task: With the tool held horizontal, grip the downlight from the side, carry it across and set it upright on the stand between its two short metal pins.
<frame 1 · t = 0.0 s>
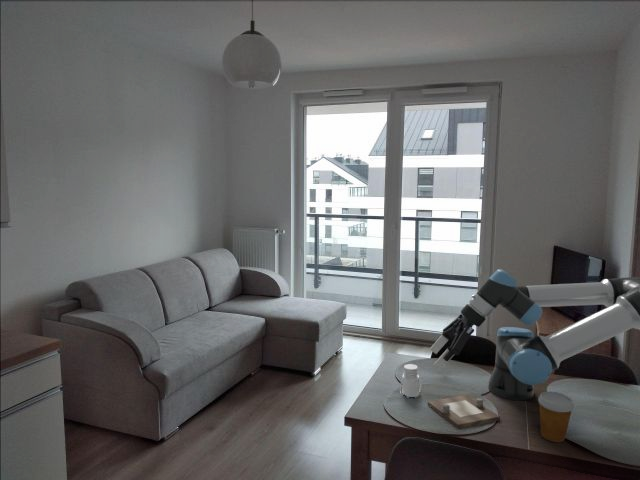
hand: (435, 358, 159), 15 cm above the table, tool tilted 35°, fingers open, 13 cm apart
disposable coffee cup: (552, 437, 141), on the table
downlight: (410, 394, 167), on the table
pin stand: (462, 412, 155), on the table
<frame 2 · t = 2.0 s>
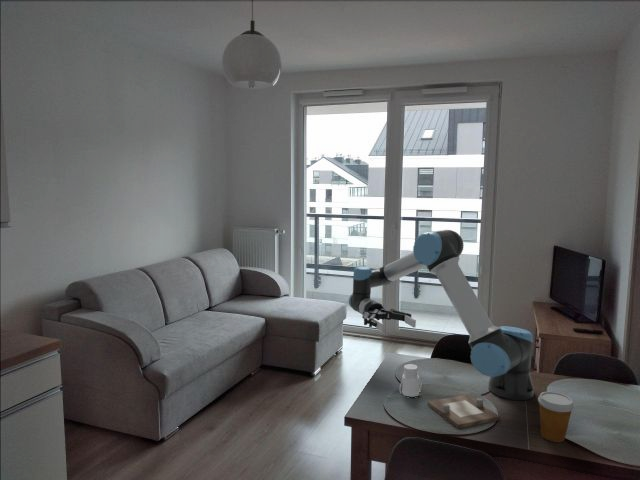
hand: (398, 325, 174), 21 cm above the table, tool horizontal, fingers open, 13 cm apart
nothing on the table moved.
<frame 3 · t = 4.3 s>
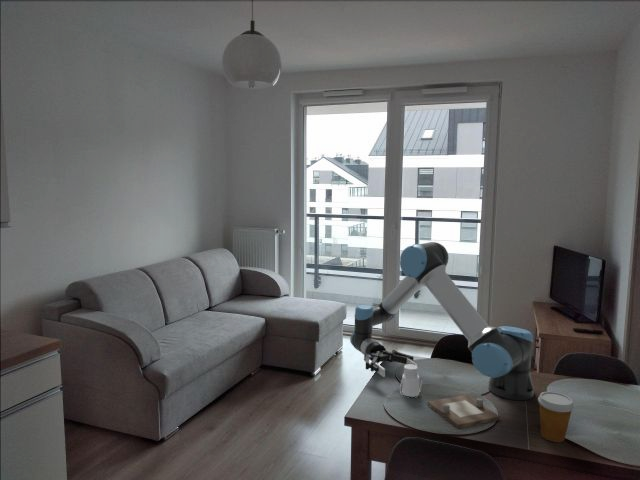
hand: (400, 370, 173), 6 cm above the table, tool horizontal, fingers open, 13 cm apart
nothing on the table moved.
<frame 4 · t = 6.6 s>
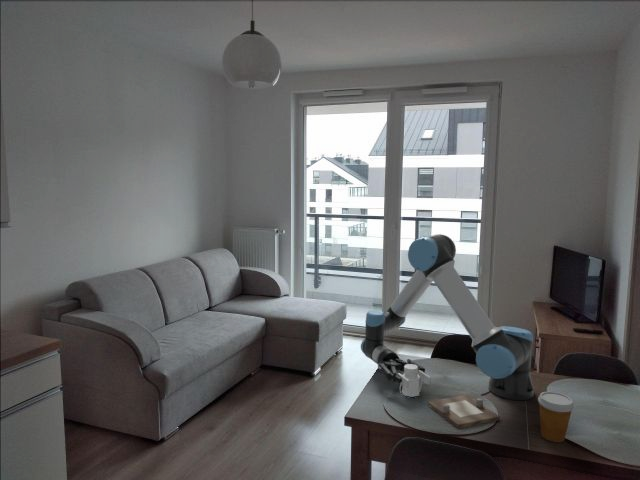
hand: (418, 382, 162), 6 cm above the table, tool horizontal, fingers closed on downlight, 8 cm apart
downlight: (410, 394, 167), on the table, touching gripper
everything else where it was.
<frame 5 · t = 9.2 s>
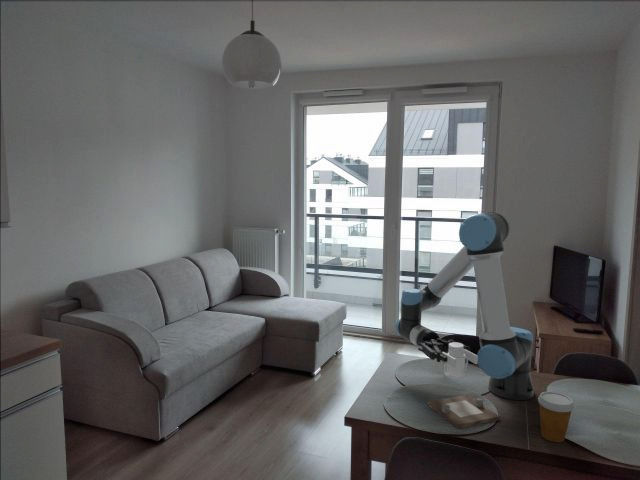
hand: (465, 361, 150), 18 cm above the table, tool horizontal, fingers closed on downlight, 8 cm apart
downlight: (455, 374, 155), point 12 cm above the table, touching gripper
everything else where it was.
when the fingers open (9 cm above the table, at t = 11.6 s): downlight drops 2 cm, resting on pin stand.
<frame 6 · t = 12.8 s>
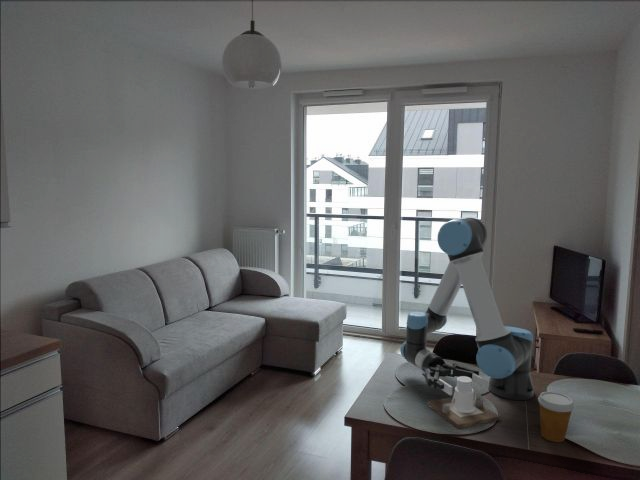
hand: (469, 388, 151), 9 cm above the table, tool horizontal, fingers open, 13 cm apart
downlight: (463, 408, 155), point 1 cm above the table, touching pin stand
everything else where it was.
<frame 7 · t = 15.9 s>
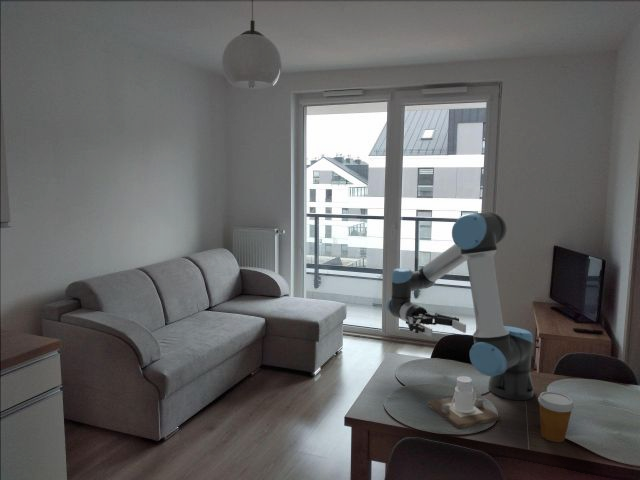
hand: (448, 330, 161), 24 cm above the table, tool horizontal, fingers open, 13 cm apart
nothing on the table moved.
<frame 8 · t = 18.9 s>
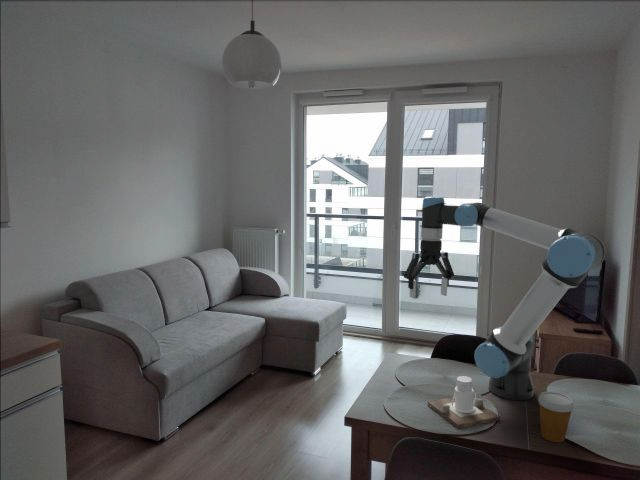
hand: (428, 296, 176), 32 cm above the table, tool pointing down, fingers open, 13 cm apart
nothing on the table moved.
at the end: downlight 0.3 cm off-centre on the pin stand, point 1.1 cm above the pin stand's base; downlight tilted 0°; the gripper is holding nothing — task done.
